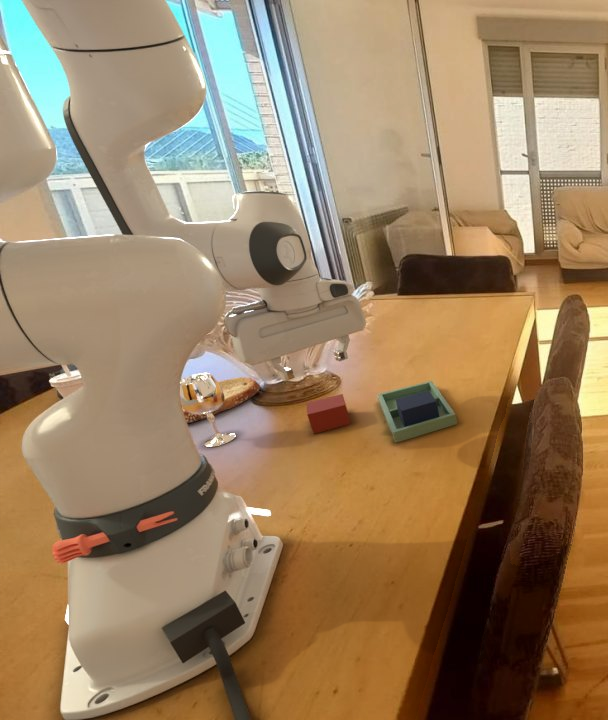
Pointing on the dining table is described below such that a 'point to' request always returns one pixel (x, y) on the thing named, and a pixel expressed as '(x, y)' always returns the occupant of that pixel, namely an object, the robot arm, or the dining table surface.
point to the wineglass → (204, 402)
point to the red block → (327, 413)
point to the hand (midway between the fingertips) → (316, 368)
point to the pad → (417, 408)
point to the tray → (404, 433)
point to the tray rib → (395, 412)
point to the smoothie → (67, 382)
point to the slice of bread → (230, 396)
